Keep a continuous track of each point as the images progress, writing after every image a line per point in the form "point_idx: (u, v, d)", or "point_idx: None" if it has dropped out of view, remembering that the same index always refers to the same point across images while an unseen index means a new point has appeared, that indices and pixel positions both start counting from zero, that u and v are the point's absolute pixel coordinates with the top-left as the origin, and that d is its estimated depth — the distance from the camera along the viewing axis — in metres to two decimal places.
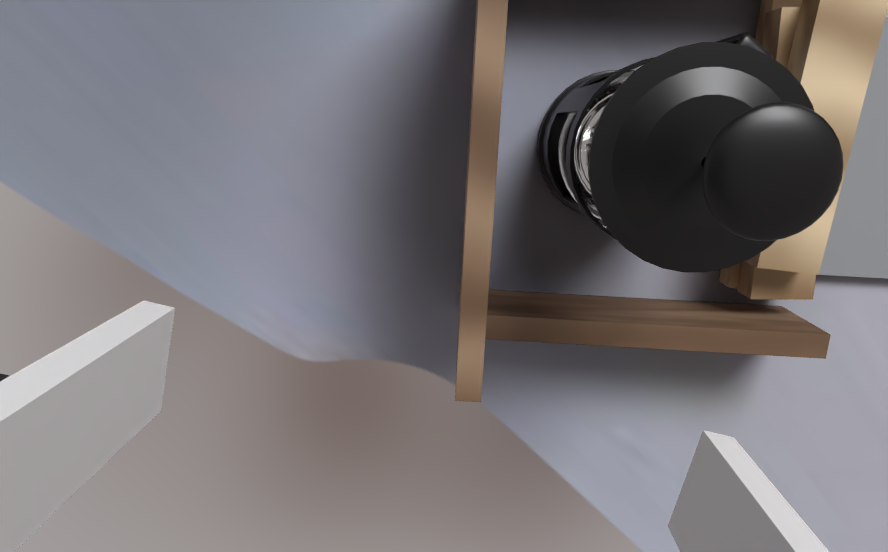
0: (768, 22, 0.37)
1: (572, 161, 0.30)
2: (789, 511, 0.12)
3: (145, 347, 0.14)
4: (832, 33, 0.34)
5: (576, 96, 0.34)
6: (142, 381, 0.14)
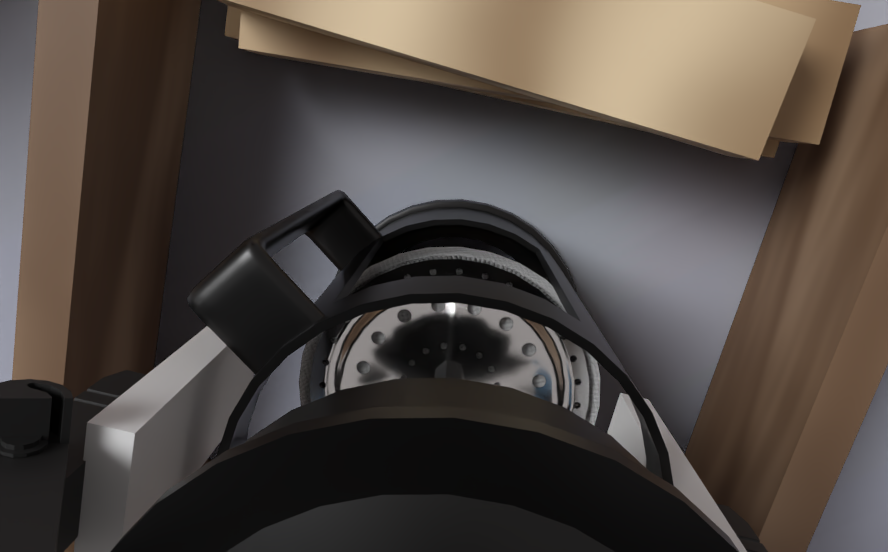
0: (273, 56, 0.20)
1: None
2: (681, 458, 0.13)
3: None
4: None
5: None
6: (239, 377, 0.15)
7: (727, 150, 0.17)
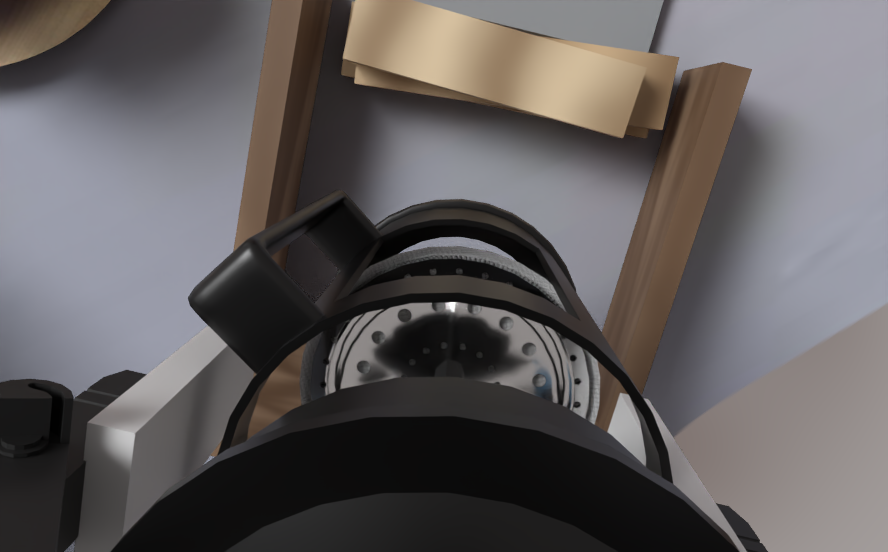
0: None
1: None
2: (681, 458, 0.13)
3: None
4: (383, 47, 0.32)
5: None
6: (239, 377, 0.15)
7: (607, 133, 0.33)
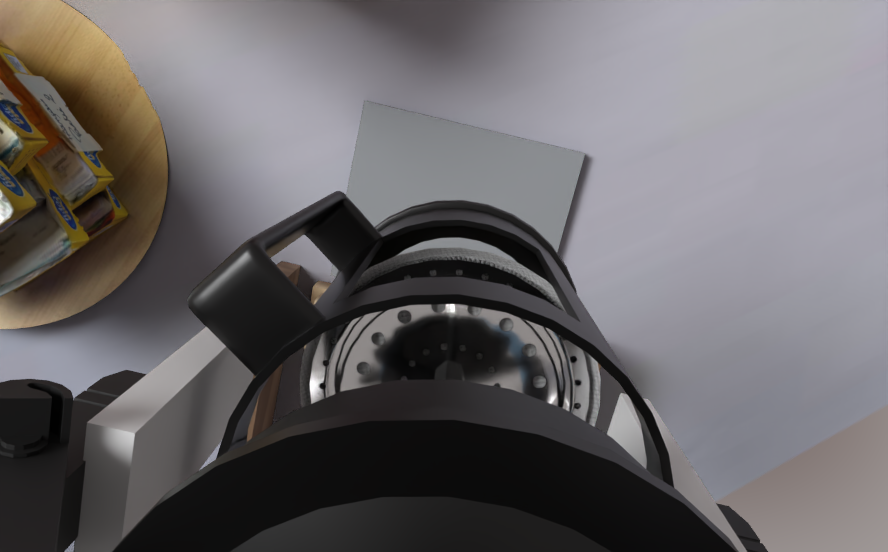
0: None
1: None
2: (681, 459, 0.13)
3: None
4: None
5: None
6: (239, 377, 0.15)
7: None
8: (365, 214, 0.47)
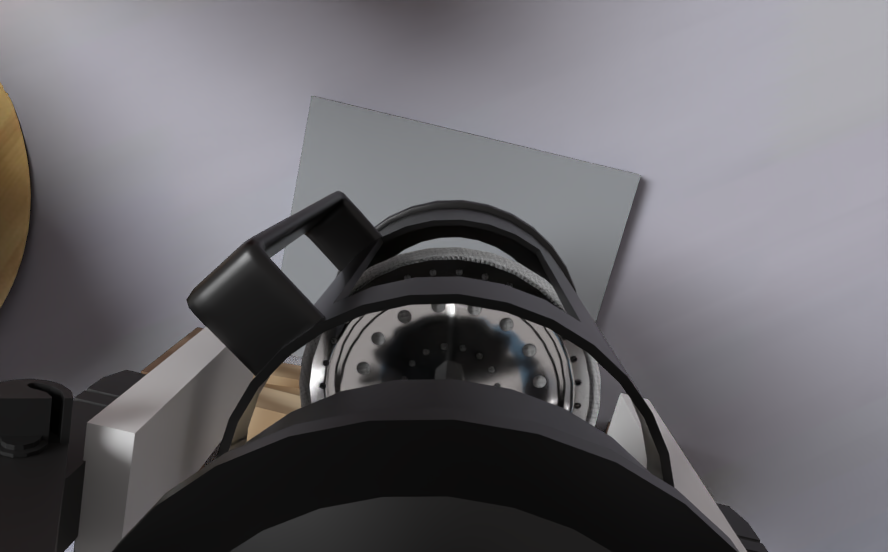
0: None
1: None
2: (681, 459, 0.13)
3: None
4: None
5: None
6: (239, 377, 0.15)
7: None
8: (316, 263, 0.32)
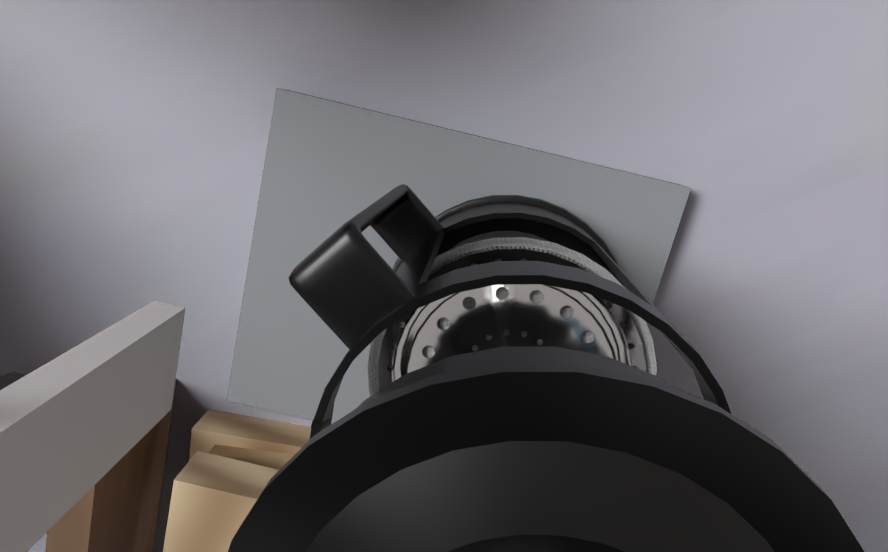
0: None
1: None
2: None
3: (156, 346, 0.14)
4: None
5: None
6: (153, 380, 0.14)
7: None
8: (285, 295, 0.26)
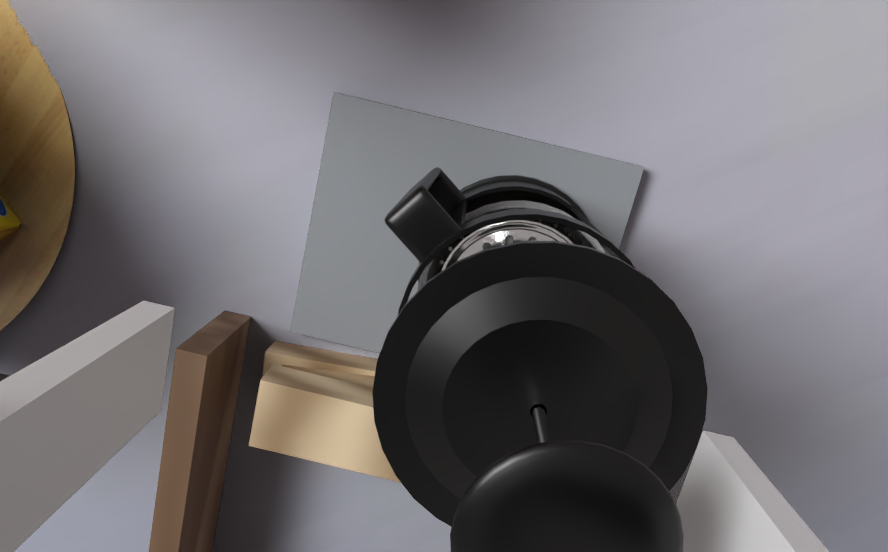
0: None
1: None
2: (789, 511, 0.12)
3: (145, 347, 0.14)
4: (290, 435, 0.31)
5: None
6: (142, 381, 0.14)
7: None
8: (336, 249, 0.34)
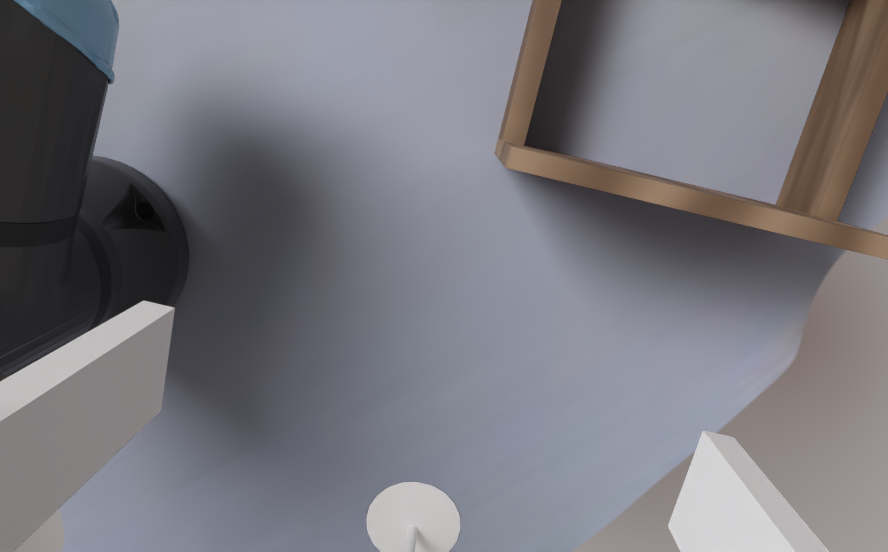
0: None
1: None
2: (789, 511, 0.12)
3: (145, 347, 0.14)
4: None
5: None
6: (142, 381, 0.14)
7: None
8: None
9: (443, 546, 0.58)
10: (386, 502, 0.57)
